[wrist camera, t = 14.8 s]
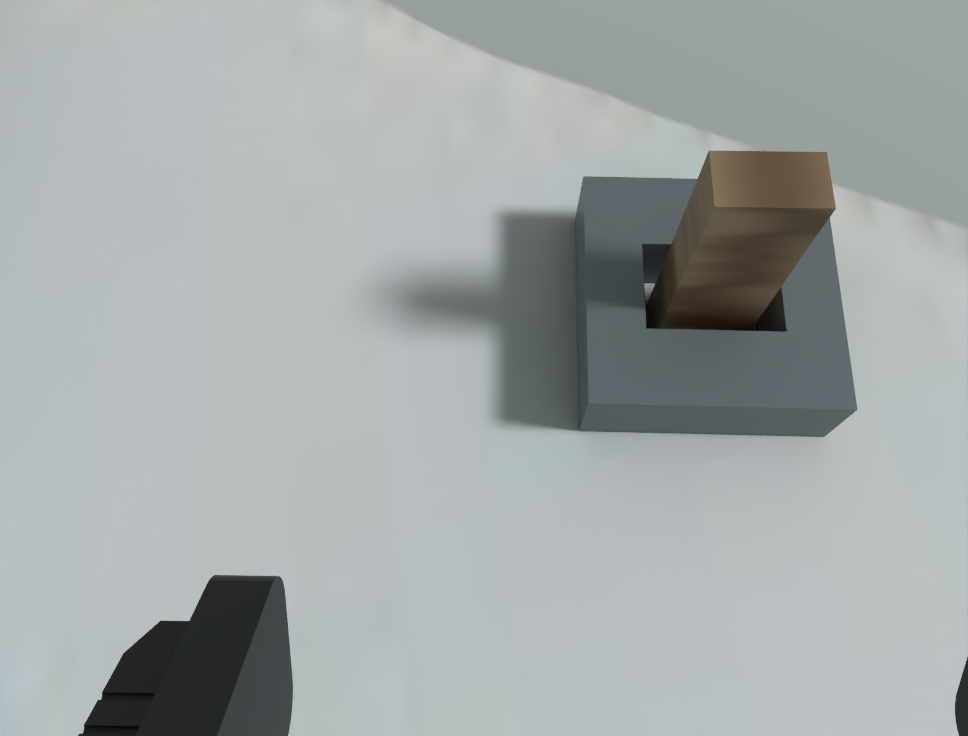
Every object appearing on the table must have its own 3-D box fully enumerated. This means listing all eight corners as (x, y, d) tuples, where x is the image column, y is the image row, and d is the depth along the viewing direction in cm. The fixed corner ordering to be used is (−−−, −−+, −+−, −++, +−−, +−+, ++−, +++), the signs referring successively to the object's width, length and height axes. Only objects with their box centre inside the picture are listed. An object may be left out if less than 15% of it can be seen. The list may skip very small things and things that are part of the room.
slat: (650, 345, 45) (714, 206, 33) (648, 301, 46) (709, 150, 33) (739, 346, 45) (835, 208, 33) (734, 302, 46) (826, 152, 33)
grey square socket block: (579, 430, 43) (588, 403, 39) (575, 219, 47) (583, 176, 44) (824, 436, 43) (857, 409, 39) (797, 224, 47) (824, 181, 44)
